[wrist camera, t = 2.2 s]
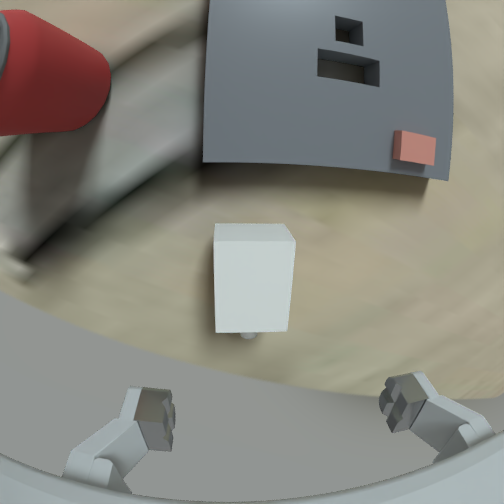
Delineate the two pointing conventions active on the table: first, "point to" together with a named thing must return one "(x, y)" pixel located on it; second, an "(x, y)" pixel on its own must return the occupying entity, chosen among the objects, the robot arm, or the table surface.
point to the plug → (252, 278)
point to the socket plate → (330, 85)
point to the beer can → (47, 77)
